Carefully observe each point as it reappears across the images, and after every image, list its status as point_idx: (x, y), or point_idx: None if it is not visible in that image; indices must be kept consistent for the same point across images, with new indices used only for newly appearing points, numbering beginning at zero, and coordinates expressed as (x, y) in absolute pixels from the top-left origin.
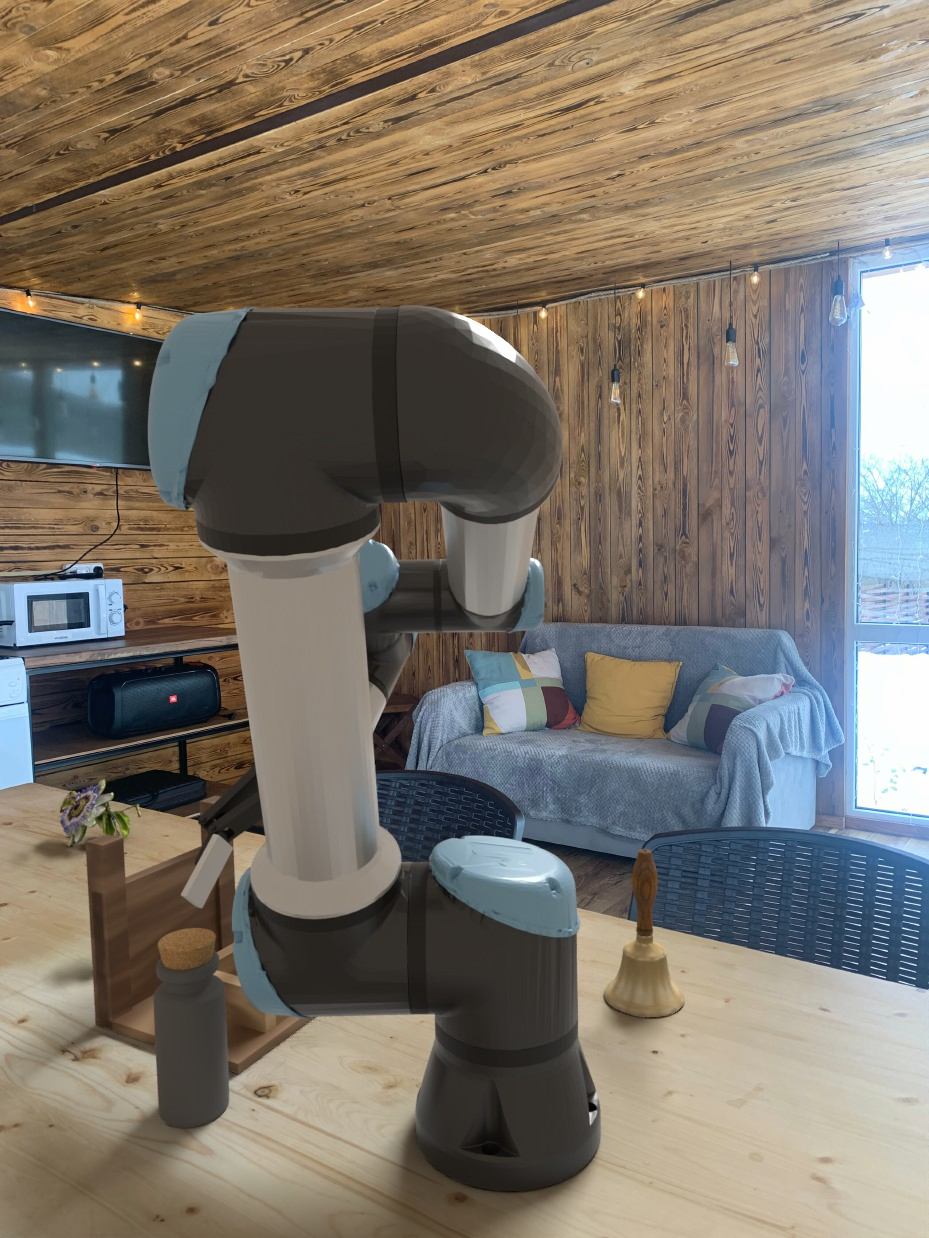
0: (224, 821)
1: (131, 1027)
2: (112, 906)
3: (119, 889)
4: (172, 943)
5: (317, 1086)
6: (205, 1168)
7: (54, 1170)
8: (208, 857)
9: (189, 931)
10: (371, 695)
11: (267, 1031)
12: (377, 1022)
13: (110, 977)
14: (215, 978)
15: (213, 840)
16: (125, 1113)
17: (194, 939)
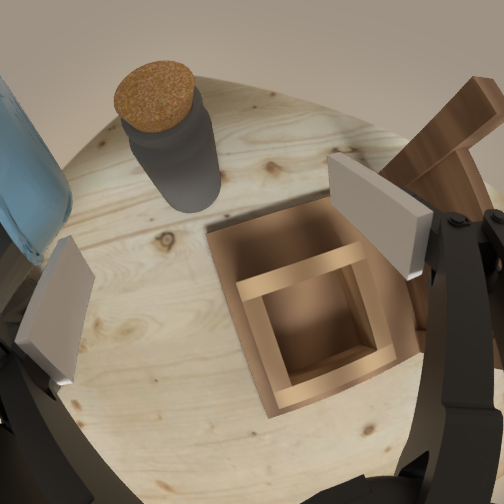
0: (456, 245)
1: None
2: (428, 138)
3: (444, 141)
4: (156, 71)
5: (138, 279)
6: (124, 163)
7: (202, 96)
8: (376, 192)
9: (171, 96)
10: None
11: (237, 288)
12: (188, 389)
13: (384, 169)
14: (152, 152)
15: (410, 205)
16: (227, 144)
17: (141, 93)
